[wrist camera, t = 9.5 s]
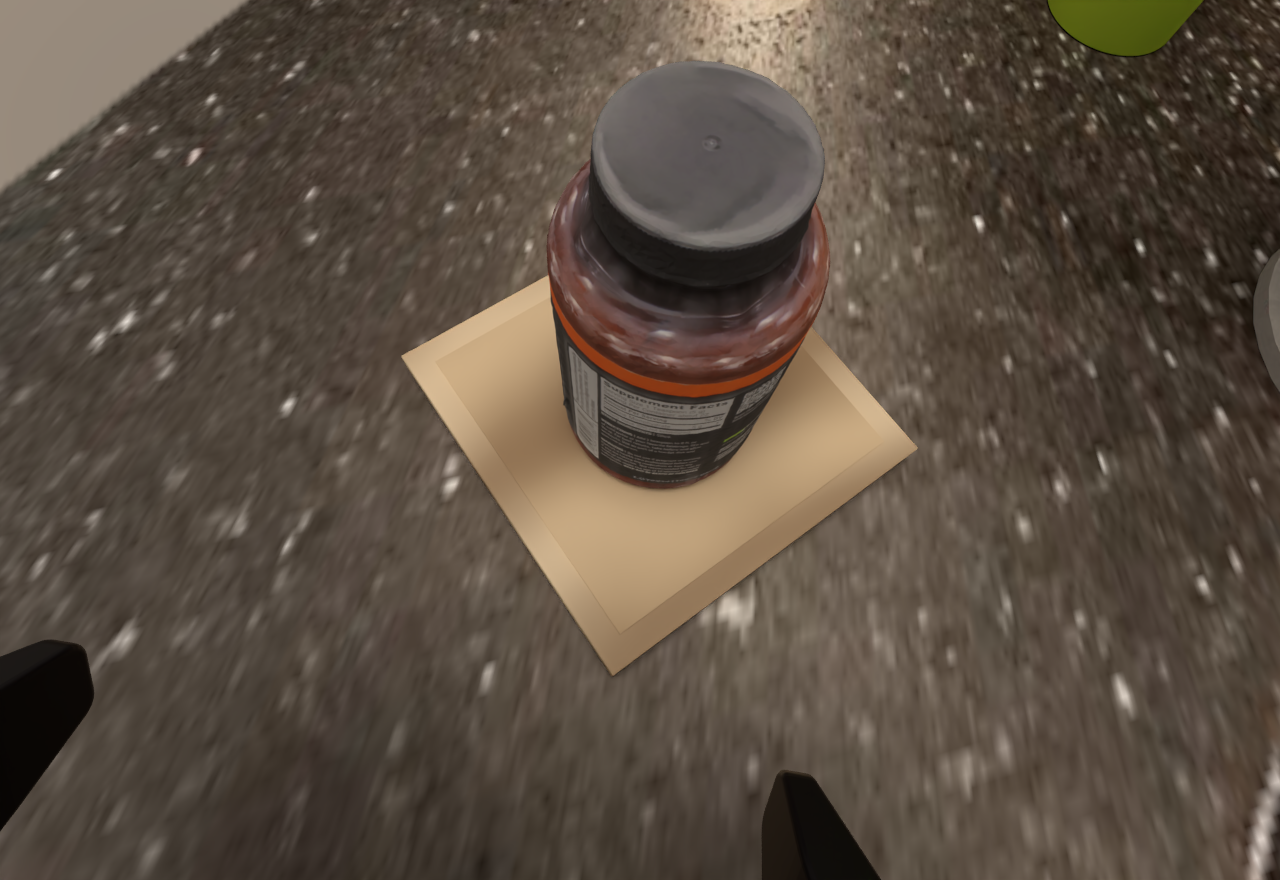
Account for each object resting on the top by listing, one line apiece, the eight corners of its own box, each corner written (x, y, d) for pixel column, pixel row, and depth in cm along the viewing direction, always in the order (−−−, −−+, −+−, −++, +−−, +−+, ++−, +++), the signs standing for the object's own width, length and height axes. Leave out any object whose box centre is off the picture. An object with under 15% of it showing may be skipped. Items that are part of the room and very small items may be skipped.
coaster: (904, 458, 23) (918, 447, 22) (611, 676, 20) (612, 675, 19) (691, 212, 26) (695, 192, 25) (409, 369, 23) (400, 355, 22)
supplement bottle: (608, 299, 23) (617, -29, 13) (773, 363, 23) (925, 76, 12) (533, 452, 21) (469, 212, 11) (712, 525, 21) (832, 349, 10)
